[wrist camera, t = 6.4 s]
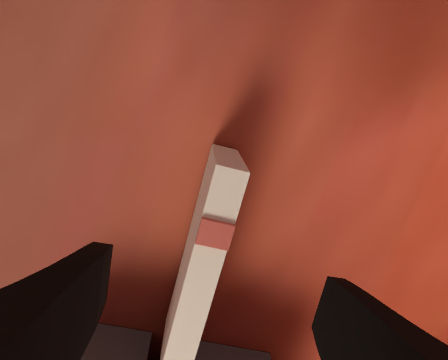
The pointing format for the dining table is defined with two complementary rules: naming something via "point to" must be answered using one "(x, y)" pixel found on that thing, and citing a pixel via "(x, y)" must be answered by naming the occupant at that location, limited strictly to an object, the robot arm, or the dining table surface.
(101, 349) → the panel
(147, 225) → the dining table surface
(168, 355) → the pale narrow strip
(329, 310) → the robot arm
